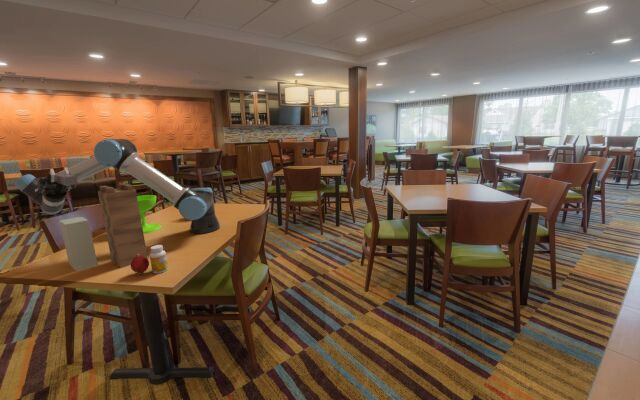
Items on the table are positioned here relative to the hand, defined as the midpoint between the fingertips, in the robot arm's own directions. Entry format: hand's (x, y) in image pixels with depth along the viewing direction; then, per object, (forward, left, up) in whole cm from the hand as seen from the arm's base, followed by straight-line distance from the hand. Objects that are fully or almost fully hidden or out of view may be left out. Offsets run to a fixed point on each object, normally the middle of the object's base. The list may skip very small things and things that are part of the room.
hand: (59, 171), depth 114 cm
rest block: (-3, +3, -38) cm, 38 cm away
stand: (-21, 0, -38) cm, 43 cm away
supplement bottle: (-39, +11, -38) cm, 56 cm away
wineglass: (-4, -43, -38) cm, 58 cm away
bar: (-3, +2, -4) cm, 5 cm away
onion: (-33, +13, -38) cm, 52 cm away
